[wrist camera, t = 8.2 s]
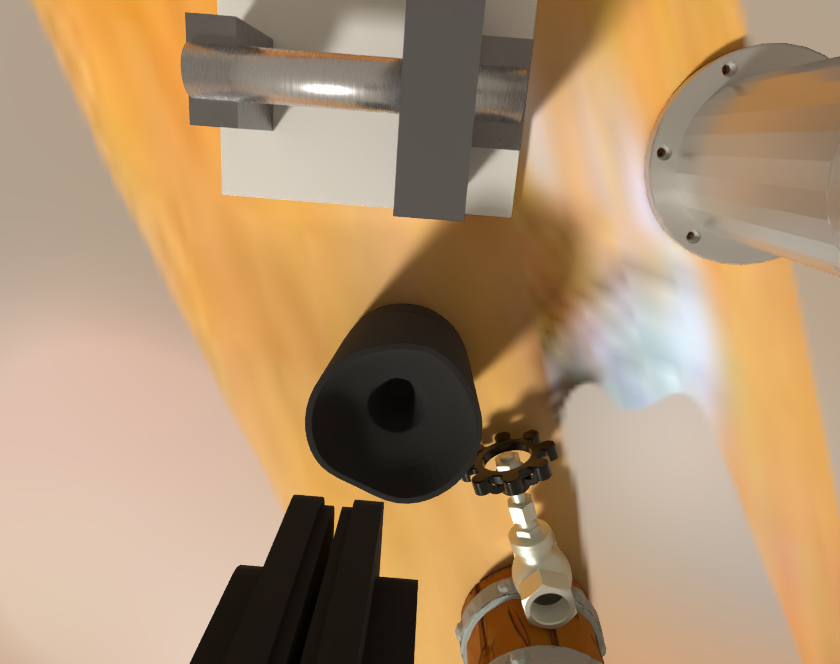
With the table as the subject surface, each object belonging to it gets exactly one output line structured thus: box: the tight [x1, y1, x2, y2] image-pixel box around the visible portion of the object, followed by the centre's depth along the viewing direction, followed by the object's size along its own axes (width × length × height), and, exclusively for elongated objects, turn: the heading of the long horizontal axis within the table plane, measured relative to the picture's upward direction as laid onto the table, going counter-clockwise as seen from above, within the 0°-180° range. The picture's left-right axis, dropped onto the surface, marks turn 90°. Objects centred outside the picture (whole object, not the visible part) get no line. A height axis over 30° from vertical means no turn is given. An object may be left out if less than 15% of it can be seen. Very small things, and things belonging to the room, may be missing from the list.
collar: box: [393, 0, 486, 222], centre depth 28 cm, size 3×11×11 cm, turn 176°
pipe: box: [181, 12, 533, 151], centre depth 31 cm, size 16×5×8 cm, turn 86°
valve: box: [462, 430, 577, 629], centre depth 41 cm, size 7×7×12 cm
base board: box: [217, 0, 538, 218], centre depth 35 cm, size 18×13×1 cm
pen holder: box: [305, 304, 482, 504], centre depth 36 cm, size 9×9×10 cm
